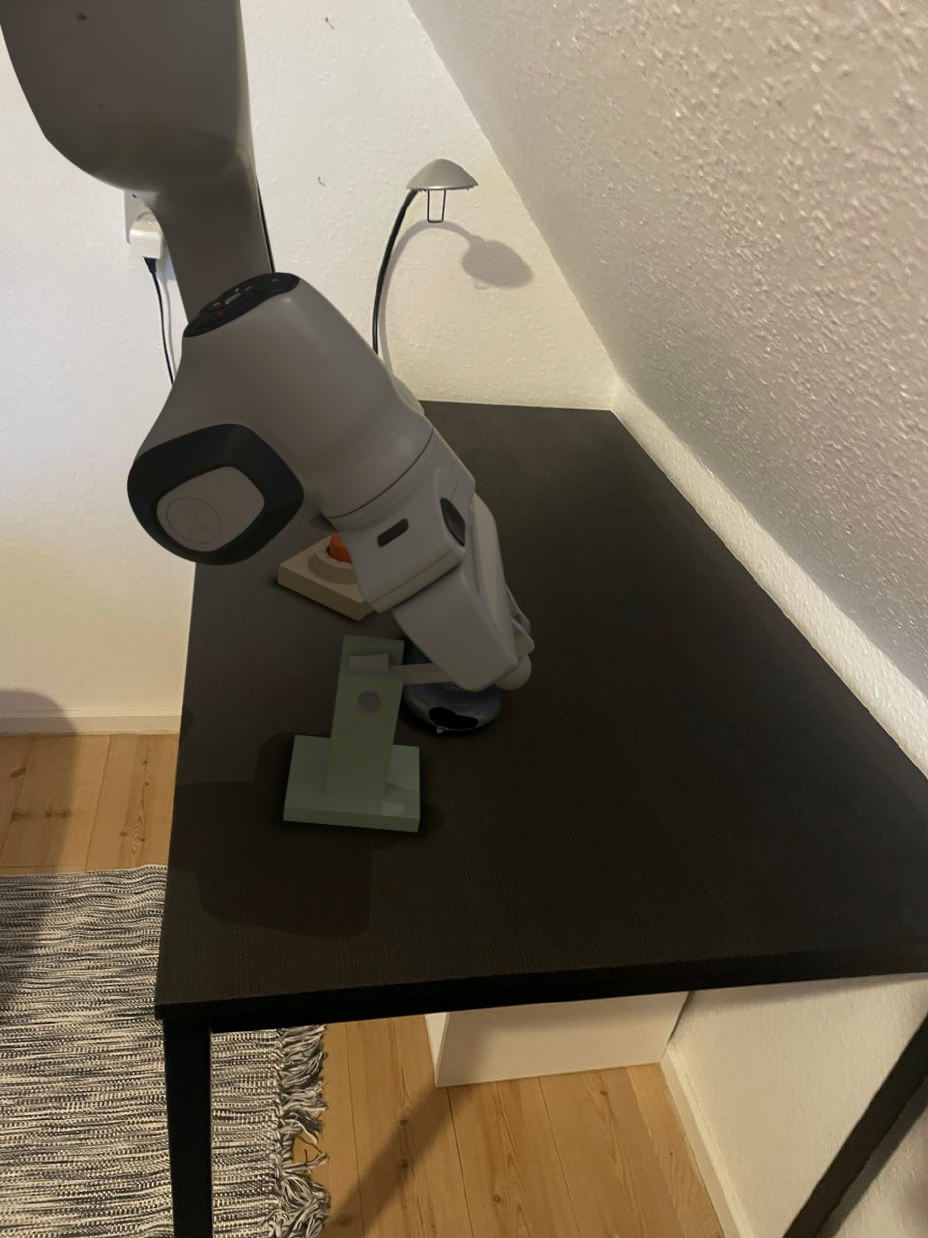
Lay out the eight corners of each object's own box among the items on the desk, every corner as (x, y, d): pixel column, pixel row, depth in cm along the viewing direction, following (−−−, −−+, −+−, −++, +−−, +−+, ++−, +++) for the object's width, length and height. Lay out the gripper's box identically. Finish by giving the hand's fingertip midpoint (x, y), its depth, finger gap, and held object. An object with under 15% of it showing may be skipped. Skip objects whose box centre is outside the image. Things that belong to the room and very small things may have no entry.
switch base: (416, 760, 78) (441, 633, 71) (417, 832, 71) (444, 700, 64) (293, 748, 76) (307, 617, 69) (282, 820, 70) (296, 684, 63)
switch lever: (529, 670, 70) (528, 635, 68) (533, 697, 67) (533, 661, 66) (354, 682, 70) (349, 647, 68) (352, 710, 67) (346, 674, 66)
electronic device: (392, 645, 93) (399, 727, 80) (407, 595, 91) (416, 671, 78) (481, 665, 95) (503, 748, 82) (498, 617, 93) (523, 694, 80)
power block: (277, 583, 96) (280, 549, 94) (329, 552, 103) (333, 519, 101) (357, 621, 93) (362, 587, 91) (406, 586, 100) (411, 554, 98)
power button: (321, 554, 95) (323, 539, 95) (342, 542, 98) (344, 527, 97) (351, 568, 94) (353, 552, 93) (371, 555, 97) (373, 540, 96)
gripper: (371, 461, 70) (478, 588, 76) (359, 613, 53) (498, 760, 59) (440, 413, 68) (544, 547, 75) (450, 553, 51) (584, 711, 57)
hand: (524, 643), depth 67 cm, fingers closed, pressing on switch lever
